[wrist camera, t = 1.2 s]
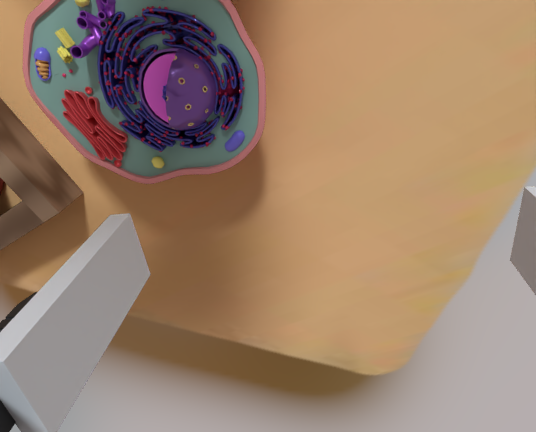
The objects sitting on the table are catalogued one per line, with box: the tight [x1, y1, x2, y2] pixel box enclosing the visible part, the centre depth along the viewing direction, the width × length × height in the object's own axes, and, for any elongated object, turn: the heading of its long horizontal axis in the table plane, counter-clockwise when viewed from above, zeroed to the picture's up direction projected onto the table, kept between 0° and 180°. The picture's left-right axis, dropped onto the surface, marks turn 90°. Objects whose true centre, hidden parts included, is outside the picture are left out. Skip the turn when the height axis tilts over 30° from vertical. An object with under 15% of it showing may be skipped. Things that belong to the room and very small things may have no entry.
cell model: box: [23, 0, 266, 184], centre depth 33 cm, size 17×20×11 cm
